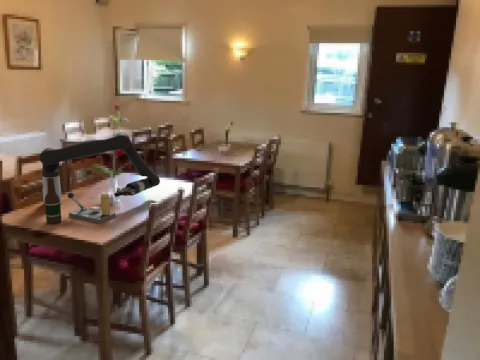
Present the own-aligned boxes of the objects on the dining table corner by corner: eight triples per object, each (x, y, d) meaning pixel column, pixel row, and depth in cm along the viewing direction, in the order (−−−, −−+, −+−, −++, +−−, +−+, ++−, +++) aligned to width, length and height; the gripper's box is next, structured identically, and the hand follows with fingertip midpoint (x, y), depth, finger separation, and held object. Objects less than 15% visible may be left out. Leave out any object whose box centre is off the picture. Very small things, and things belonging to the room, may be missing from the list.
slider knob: (100, 214, 221) (99, 195, 219) (105, 212, 225) (104, 193, 222) (106, 215, 220) (105, 196, 217) (111, 213, 223) (110, 194, 221)
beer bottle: (49, 219, 218) (45, 176, 212) (64, 219, 219) (60, 176, 213) (43, 224, 210) (39, 180, 204) (59, 224, 211) (55, 180, 205)
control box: (68, 216, 223) (68, 212, 223) (85, 210, 234) (85, 206, 233) (100, 223, 215) (99, 219, 214) (115, 216, 225) (115, 212, 225)
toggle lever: (78, 209, 228) (65, 195, 217) (81, 204, 229) (68, 190, 219) (83, 210, 226) (69, 196, 216) (86, 205, 228) (72, 191, 218)
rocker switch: (89, 210, 224) (89, 207, 224) (94, 209, 228) (95, 206, 228) (94, 211, 223) (94, 208, 223) (100, 210, 227) (100, 207, 227)
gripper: (126, 180, 244) (105, 187, 229) (144, 183, 239) (124, 190, 224) (126, 192, 246) (106, 199, 231) (144, 195, 241) (125, 203, 226)
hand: (115, 195), depth 228 cm, fingers closed
